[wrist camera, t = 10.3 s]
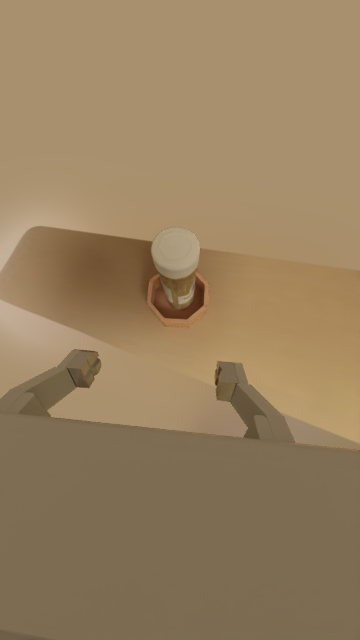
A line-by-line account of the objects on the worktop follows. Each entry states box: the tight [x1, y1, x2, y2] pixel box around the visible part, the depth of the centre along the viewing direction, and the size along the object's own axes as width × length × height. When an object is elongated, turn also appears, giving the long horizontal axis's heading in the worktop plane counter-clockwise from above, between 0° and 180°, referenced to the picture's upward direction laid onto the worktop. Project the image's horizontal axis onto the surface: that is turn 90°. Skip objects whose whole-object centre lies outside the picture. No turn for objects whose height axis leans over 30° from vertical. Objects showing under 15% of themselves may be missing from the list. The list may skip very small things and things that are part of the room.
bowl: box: [146, 271, 209, 328], centre depth 27 cm, size 9×9×4 cm
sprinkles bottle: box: [151, 227, 200, 311], centre depth 21 cm, size 5×5×13 cm
